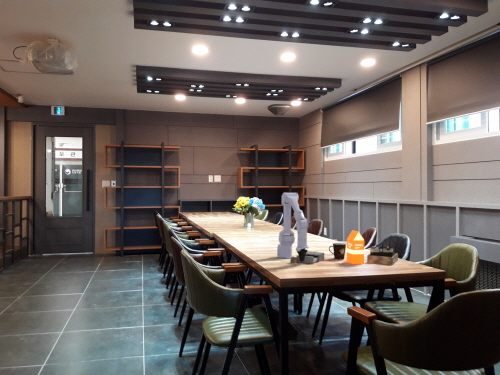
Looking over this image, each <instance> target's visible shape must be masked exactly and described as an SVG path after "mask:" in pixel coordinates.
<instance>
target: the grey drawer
mask: <svg viewBox="0 0 500 375" xmlns="http://www.w3.org/2000/svg"><path fill="white" fill-rule="evenodd" d="M296 257H297V263H301V262H300V259H299V255H298V254H296ZM316 261H318V257H310V256H305V259H304V262H302V263H303V264H304V263H305V264H314V263H315V262H316Z"/></svg>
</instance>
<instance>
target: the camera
mask: <svg viewBox="0 0 500 375" xmlns="http://www.w3.org/2000/svg"><path fill="white" fill-rule="evenodd" d="M393 253H394V248H393V247H389V246H387V247H386V246H385V247H384V246H376V247H375V246H373V245H372V246H371V247H370V248H369V254H370V255H371V256H382V257H393Z"/></svg>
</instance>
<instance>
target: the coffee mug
mask: <svg viewBox="0 0 500 375" xmlns="http://www.w3.org/2000/svg"><path fill="white" fill-rule="evenodd" d="M331 247H332V249H333V252H332V250H331ZM346 250H347V243H344V242H332V245H330V246H329V247H328V251H329V252H330V253H331V254H332V255H333V258H334V259H335V260H339V261H340V260H345V256H346Z"/></svg>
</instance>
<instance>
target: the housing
mask: <svg viewBox="0 0 500 375" xmlns="http://www.w3.org/2000/svg"><path fill="white" fill-rule="evenodd" d="M305 256H312V257H318V261H315V262H317V263H320V262H321V261H324V260H325V252H320V251H309V250H308V251H307V253H306V255H305Z"/></svg>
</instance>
